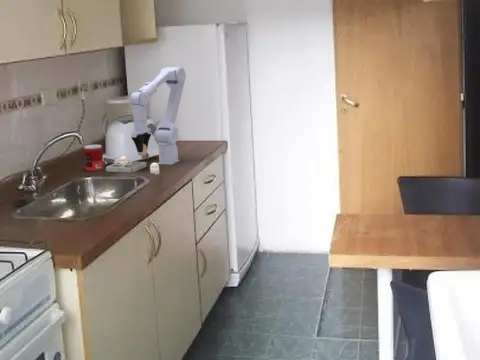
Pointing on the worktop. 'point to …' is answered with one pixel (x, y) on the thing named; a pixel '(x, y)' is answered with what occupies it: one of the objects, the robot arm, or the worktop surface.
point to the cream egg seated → (123, 160)
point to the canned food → (93, 157)
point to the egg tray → (126, 167)
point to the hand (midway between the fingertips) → (142, 151)
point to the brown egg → (143, 150)
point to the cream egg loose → (154, 168)
